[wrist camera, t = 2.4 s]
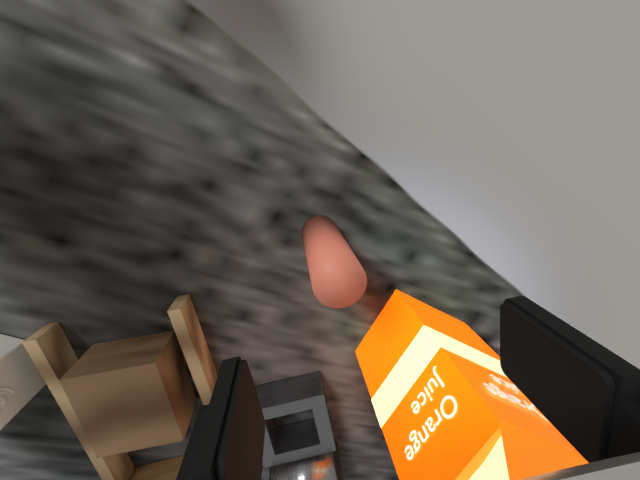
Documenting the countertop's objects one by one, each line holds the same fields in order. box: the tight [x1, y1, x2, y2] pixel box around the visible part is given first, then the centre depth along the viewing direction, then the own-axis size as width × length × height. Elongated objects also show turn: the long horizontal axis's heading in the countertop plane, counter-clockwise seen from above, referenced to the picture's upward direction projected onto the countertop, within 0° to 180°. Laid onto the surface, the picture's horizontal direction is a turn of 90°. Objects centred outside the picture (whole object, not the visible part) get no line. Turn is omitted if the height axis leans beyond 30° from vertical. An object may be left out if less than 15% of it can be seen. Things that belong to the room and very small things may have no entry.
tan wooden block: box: [59, 331, 197, 458], centre depth 26 cm, size 8×7×4 cm
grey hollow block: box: [255, 371, 344, 480], centre depth 30 cm, size 12×7×5 cm, turn 10°
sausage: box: [302, 216, 367, 308], centre depth 21 cm, size 3×3×10 cm
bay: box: [22, 294, 218, 480], centre depth 28 cm, size 18×12×2 cm, turn 10°
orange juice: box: [355, 289, 588, 480], centre depth 21 cm, size 8×9×20 cm
